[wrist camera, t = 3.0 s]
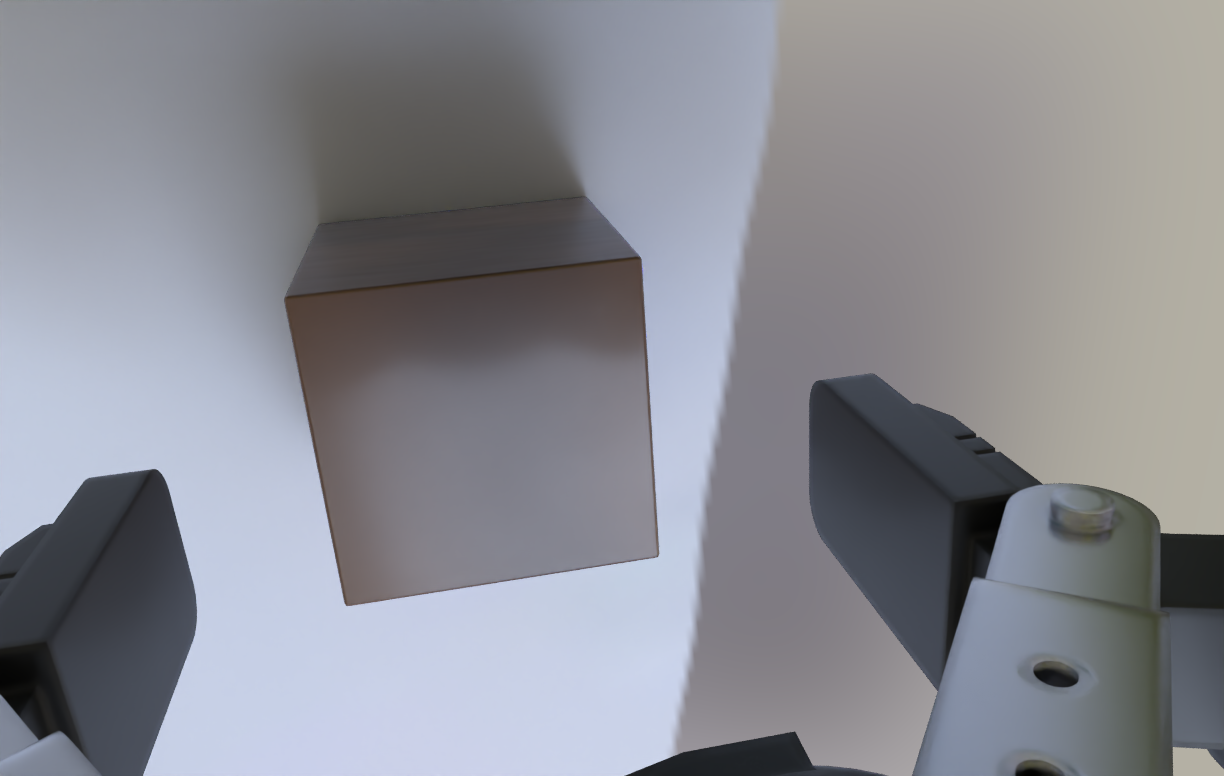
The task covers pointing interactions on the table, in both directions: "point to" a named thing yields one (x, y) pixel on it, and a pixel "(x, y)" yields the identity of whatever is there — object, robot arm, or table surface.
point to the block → (476, 395)
